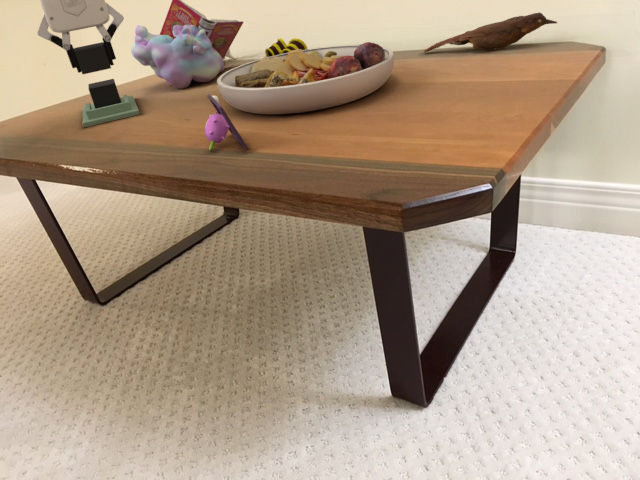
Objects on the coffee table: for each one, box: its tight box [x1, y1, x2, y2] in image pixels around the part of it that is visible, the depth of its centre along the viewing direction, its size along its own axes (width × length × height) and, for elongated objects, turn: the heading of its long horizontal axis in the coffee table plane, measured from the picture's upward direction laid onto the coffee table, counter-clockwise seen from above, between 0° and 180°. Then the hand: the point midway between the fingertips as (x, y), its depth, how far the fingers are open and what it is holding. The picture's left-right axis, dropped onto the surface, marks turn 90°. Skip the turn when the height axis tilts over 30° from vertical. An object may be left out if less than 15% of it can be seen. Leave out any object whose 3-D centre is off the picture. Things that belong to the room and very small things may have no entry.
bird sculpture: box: [423, 12, 558, 54], centre depth 103 cm, size 7×25×5 cm, turn 68°
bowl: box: [216, 41, 395, 115], centre depth 92 cm, size 30×30×8 cm
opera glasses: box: [264, 37, 309, 57], centre depth 123 cm, size 10×5×5 cm, turn 44°
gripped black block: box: [74, 41, 112, 75], centre depth 98 cm, size 5×6×4 cm
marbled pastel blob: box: [130, 0, 244, 89], centre depth 118 cm, size 20×22×18 cm
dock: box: [82, 78, 141, 128], centre depth 104 cm, size 10×16×5 cm, turn 22°
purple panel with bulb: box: [204, 93, 249, 152], centre depth 73 cm, size 7×5×9 cm
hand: (95, 66), depth 99 cm, fingers closed on gripped black block, 5 cm apart
